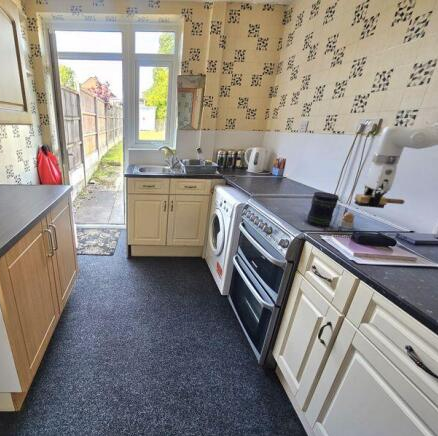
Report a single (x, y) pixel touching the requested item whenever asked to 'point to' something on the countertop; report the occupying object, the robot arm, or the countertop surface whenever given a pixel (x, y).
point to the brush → (364, 200)
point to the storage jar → (322, 209)
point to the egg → (347, 221)
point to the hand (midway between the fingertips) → (369, 204)
